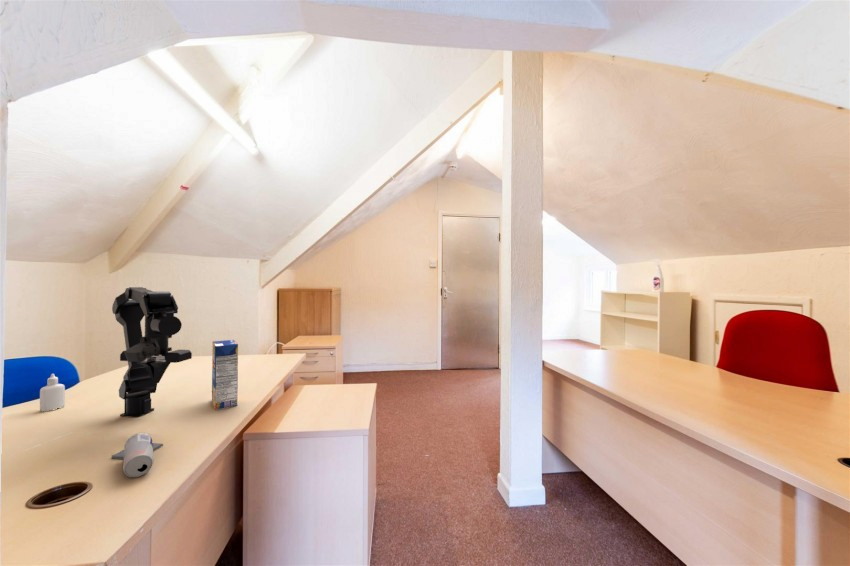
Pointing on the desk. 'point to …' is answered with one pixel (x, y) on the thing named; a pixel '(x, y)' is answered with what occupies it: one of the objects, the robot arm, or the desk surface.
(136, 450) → the energy drink
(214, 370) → the beverage box
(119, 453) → the rubber coaster
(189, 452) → the desk surface
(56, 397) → the eye dropper bottle
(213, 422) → the desk surface
